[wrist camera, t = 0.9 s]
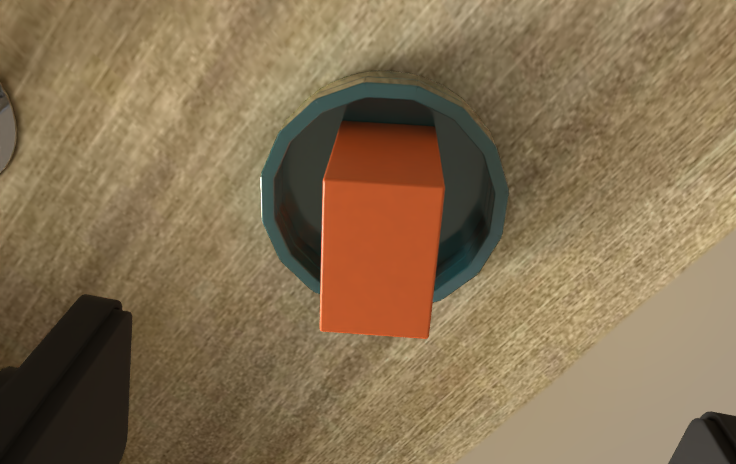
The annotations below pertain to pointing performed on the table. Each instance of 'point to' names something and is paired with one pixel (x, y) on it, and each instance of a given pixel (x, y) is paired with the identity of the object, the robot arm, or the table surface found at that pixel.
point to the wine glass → (6, 129)
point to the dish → (393, 106)
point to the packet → (381, 230)
